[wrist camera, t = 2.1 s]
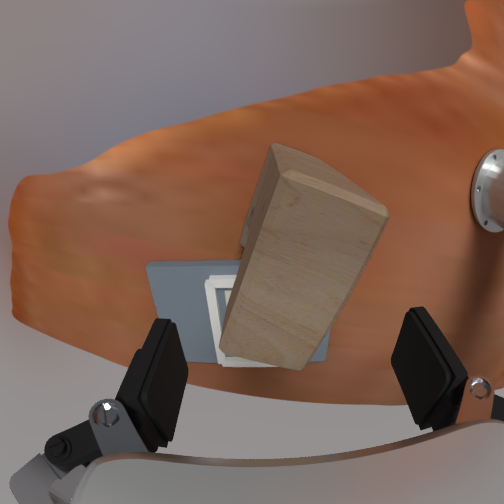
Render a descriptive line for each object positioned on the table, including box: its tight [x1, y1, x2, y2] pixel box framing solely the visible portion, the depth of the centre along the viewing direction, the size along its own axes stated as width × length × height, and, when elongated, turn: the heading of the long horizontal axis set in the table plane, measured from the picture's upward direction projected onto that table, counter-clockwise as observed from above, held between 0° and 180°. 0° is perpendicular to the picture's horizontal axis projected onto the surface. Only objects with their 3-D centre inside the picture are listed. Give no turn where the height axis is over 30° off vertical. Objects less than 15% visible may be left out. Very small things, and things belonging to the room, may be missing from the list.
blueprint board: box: [146, 260, 331, 367], centre depth 38 cm, size 24×17×2 cm
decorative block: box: [219, 143, 389, 371], centre depth 23 cm, size 11×6×20 cm, turn 161°
